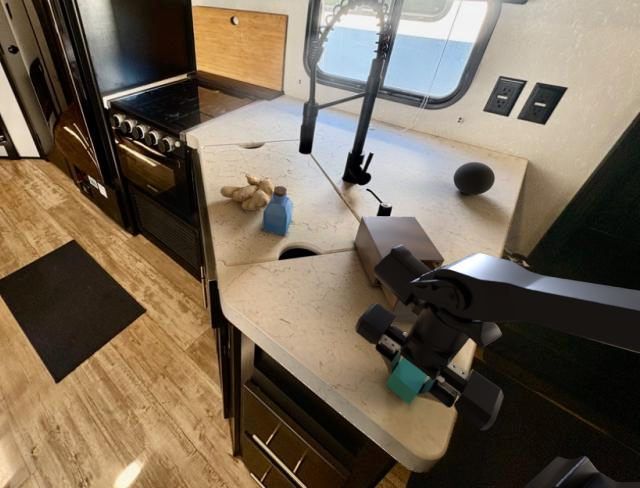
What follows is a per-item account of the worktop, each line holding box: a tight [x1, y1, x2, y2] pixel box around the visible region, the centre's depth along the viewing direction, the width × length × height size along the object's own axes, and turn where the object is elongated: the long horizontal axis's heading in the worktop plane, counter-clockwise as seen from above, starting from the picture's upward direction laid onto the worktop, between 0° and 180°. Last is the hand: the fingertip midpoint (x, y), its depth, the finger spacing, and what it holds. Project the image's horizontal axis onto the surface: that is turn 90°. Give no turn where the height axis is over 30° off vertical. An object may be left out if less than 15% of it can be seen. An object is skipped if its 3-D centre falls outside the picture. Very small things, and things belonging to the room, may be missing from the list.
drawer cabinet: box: [353, 215, 445, 287], centre depth 71 cm, size 14×13×9 cm
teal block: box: [385, 357, 429, 406], centre depth 50 cm, size 4×4×4 cm
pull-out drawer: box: [379, 262, 439, 324], centre depth 61 cm, size 17×11×7 cm, turn 0°
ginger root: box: [219, 173, 277, 211], centre depth 91 cm, size 16×16×8 cm
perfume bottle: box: [262, 185, 294, 237], centre depth 81 cm, size 6×6×12 cm
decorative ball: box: [453, 161, 496, 196], centre depth 94 cm, size 10×10×10 cm
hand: (404, 382), depth 51 cm, fingers closed on teal block, 4 cm apart
